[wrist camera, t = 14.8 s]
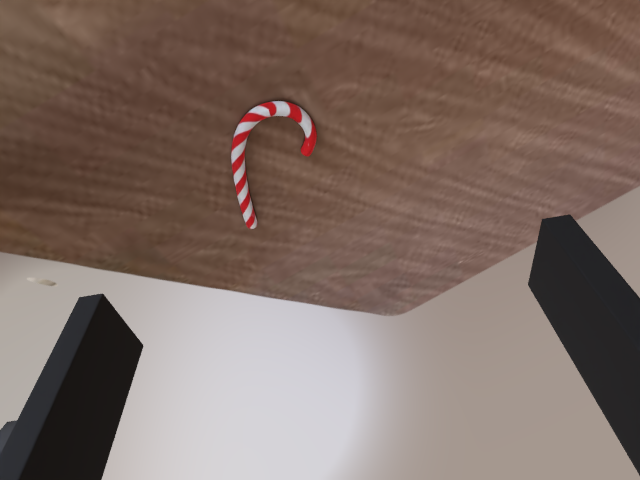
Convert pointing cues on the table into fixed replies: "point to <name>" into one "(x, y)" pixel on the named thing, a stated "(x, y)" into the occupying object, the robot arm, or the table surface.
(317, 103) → the table surface
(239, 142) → the candy cane
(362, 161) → the table surface
